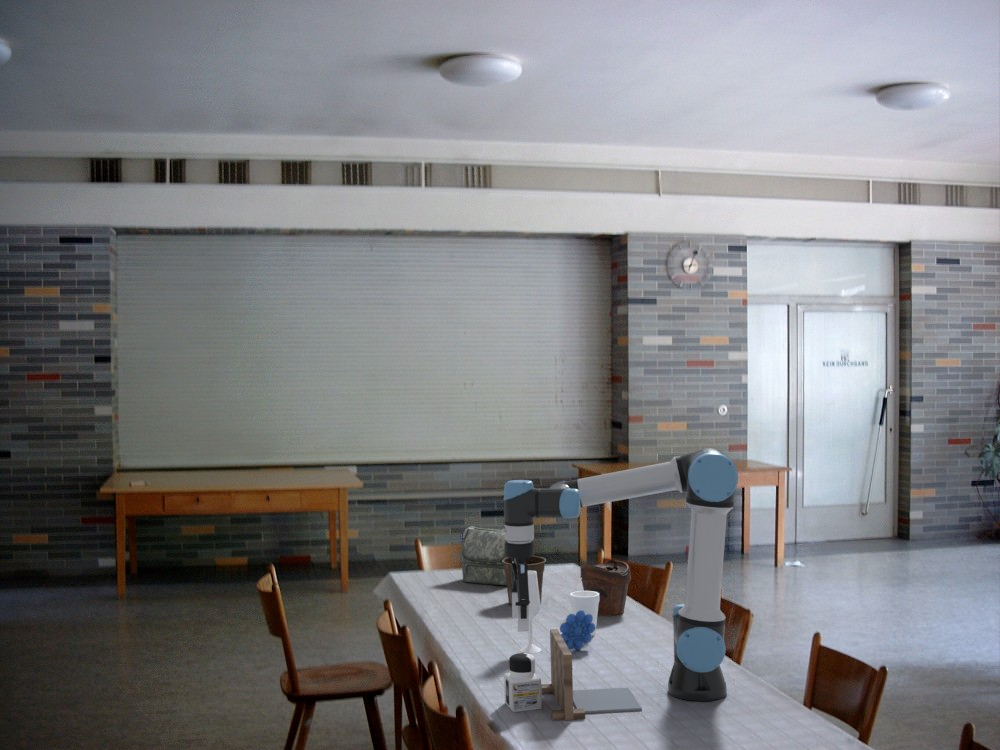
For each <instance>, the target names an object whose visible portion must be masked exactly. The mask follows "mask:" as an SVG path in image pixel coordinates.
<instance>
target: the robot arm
mask: <svg viewBox="0 0 1000 750" xmlns="http://www.w3.org/2000/svg"><path fill="white" fill-rule="evenodd" d="M738 482H739V472H738V469H737V467H736V464H735V462H734V461H733V460H732V459H731V458H730V457H729V456H728V455H726V454H725V453H724V452H723V451H721V450H720V449H719V450H718V449H715V448H712V447H711V448H710V447H707V448H702V449H698V450H695V451H692V452H688V453H685V454H681V455H675V456H673V457H672V458H671V460H670V461H666V462H661V463H655V464H651V465H650V464H649V465H645V466H639V467H634V468H630V469H629V468H628V469H624V470H619V471H614V472H609V473H603V474H599V475H591V476H588V477H583V478H577V479H573V480H572V479H571V480H560V481H555V482H554V483H552V484H551V485H550V487H549V488H536V487H535V486H534V483H533V481H532V480H529V479H513V480H512V479H511V480H509V481H506V482H505V483H504V486H503V487H504V488H503V516H504V517H503V519H504V520H503V521H504V522H503V524H504V528H501V530H502V532H505V540H506V542H505V556H506V557H508V558H512V563H511V569H512V577H511V588H512V605H511V617H512V619H515V618H516V619H517V632H520V633H521V632H528V631H529V605H528V604H530V601H529V589H528V565H527V563H525V559H526V558H530V557H532V556H535V543H534V539H535V524H534V519H565V520H568V519H577V518H578V517H580V515H581V508H584V507H589V506H595V505H596V506H597V505H600V504H601V505H602V504H606V503H612V502H617V501H623V500H628V499H635V498H639V497H644V496H649V495H650V496H651V495H655V494H661V493H665V492H666V493H667V492H671V491H678V492H679V493H681V494H682V493H686V496H685V497H686V499H685V500H686V501H685V503H686V505H687V506H688V507H689V509H690V510H691V514H690V531H689V541H688V544H689V545H688V554H687V555H688V556H687V558H688V559H687V570H686V571H687V573H686V585H685V599H684V603H680V604H675V605H674V607H673V609H672V614H671V615H672V621H673V623H672V624H673V626H672V627H673V631H672V632H673V665H672V667H671V672H670V675H669V677H668V681H667V682H668V683H667V693H668V694H670V695H671V696H673V697H675V698H678V699H682V700H685V701H694V702H710V701H715V700H721V699H722V698H724V697H726V695H727V690H728V689H727V682H726V680H725V677H724V676H725V675H724V674H723V671H722V668H721V664H722V663H723V661H724V659H725V657H726V650H727V648H726V643H725V631H726V630H725V629H726V617H727V616H726V615H725V613H723V612H722V610H721V599H722V598H721V597H722V596H721V595H722V585H723V584H722V583H723V572H724V571H723V569H724V556H725V543H726V542H725V541H726V528H727V516H728V513H729V512H731V511H732V510H733V509H734V503H735V494H736V493H735V492H736V489H737V487H738V486H737V485H738V484H739V483H738ZM523 599H525V600H523Z"/></svg>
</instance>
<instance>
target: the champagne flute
mask: <svg viewBox="0 0 1000 750" xmlns="http://www.w3.org/2000/svg"><path fill="white" fill-rule="evenodd" d="M528 589H529V601H530V604H528V605H529V631H527V632H528V635H527V636H528V644H527V645H525V646H523V647H522V648H520V649H519V651H520V653H527V654H537V653H540V652H542V649H541V648H540V647H539V646H536V645H535V644H533V619H534V618H535V617H536V616H537V615H538V614H539V612H540V610H541V604H540V597H539V589H538V580H537V572H536V571H531V570H528ZM523 600H525V599H523Z"/></svg>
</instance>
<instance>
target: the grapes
mask: <svg viewBox="0 0 1000 750" xmlns="http://www.w3.org/2000/svg"><path fill="white" fill-rule="evenodd" d="M592 620H593V617H592V615H591V614H587V615H585V612H584V611H578V612H577V613H576V616H575V615H574V614H573V613H569V614H568V615H566V618H565V621H566V622H563V623H562V624H560V626H559V632H560V634H561V636H562V638H563V640H564V641H565V643H566V645H567V647H568V648H569V650H570V651H571V650H572V649H573V648H574V649H575V651H580V650H581V649H583V647H584V644H589V643H591V641H592V639H593V638H592V637H593V636H591V634H590V633H593V632H594V631H595V628H596V629H597V626H596V627H595V624H594V623H591V622H592Z"/></svg>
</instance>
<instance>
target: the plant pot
mask: <svg viewBox="0 0 1000 750" xmlns="http://www.w3.org/2000/svg"><path fill="white" fill-rule="evenodd" d="M546 561H547V559H546V558H544V557H543V556H542V557H541V556H536V555H533V556H532V557H530V558H526V559H525V563H527V565H528V570H531V571H536V572H537V580H538V589H539V597H540V605H541V604H542V599H543V598H542V596H543V583H544V582H543V580H544V571H545V566H546V565H545V564H546ZM502 562H503V563H504V571H505V574H506V582H507V586H506V588H507V600H508V604H509V605H511V606H512V588H511V577H512V569H511V563H512V558H505V559H503V560H502Z"/></svg>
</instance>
